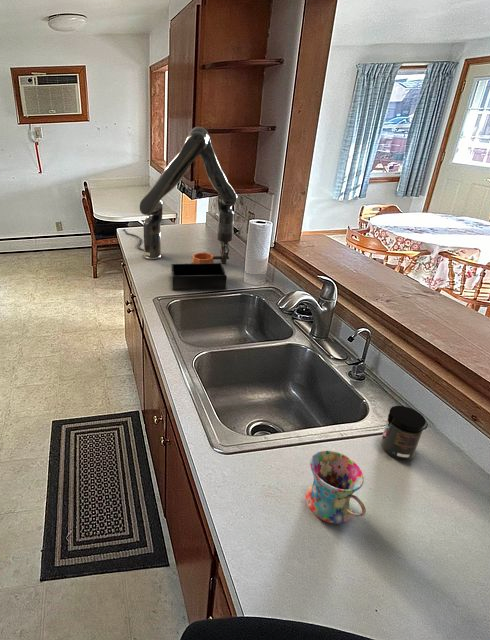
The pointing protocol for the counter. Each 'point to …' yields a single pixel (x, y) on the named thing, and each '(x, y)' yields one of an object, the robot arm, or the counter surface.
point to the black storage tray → (198, 276)
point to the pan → (204, 258)
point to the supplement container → (402, 432)
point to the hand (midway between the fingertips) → (223, 262)
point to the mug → (334, 486)
